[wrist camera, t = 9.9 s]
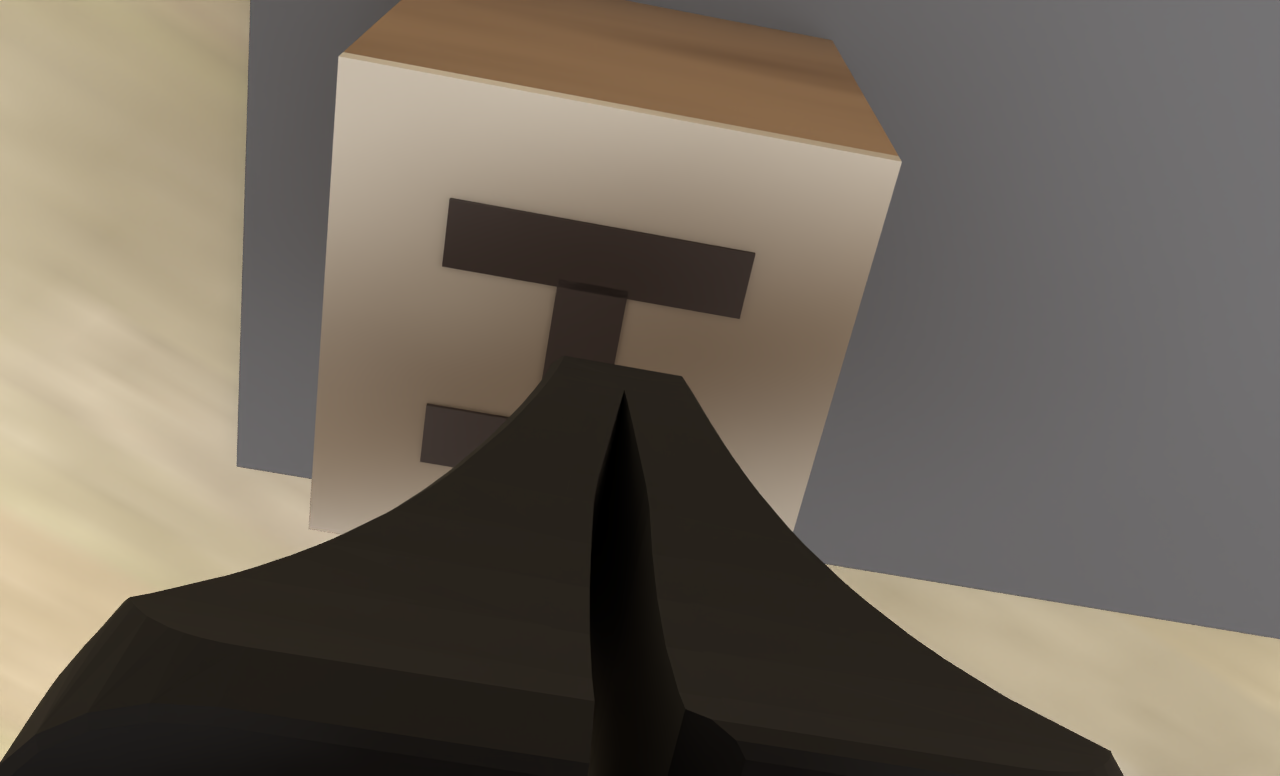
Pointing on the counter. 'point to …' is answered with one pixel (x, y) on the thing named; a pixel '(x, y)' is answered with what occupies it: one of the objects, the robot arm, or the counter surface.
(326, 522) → the letter cube
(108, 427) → the counter surface
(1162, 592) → the mat
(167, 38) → the counter surface
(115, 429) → the counter surface
